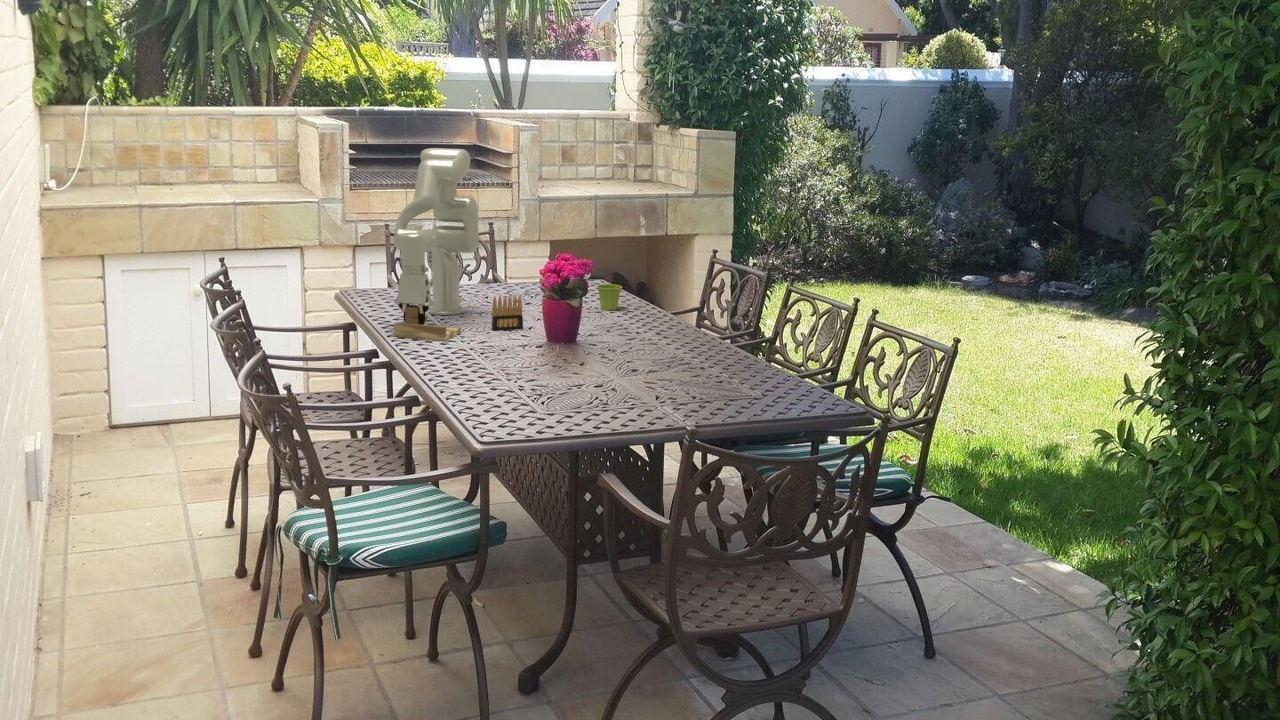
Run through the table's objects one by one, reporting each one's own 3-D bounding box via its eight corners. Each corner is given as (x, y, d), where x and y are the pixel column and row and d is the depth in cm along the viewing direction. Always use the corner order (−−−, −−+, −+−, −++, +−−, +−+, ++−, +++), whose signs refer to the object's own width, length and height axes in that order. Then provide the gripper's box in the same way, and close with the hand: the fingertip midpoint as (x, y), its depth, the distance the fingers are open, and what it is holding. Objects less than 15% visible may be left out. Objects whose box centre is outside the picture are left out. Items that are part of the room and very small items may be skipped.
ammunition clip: (521, 328, 440) (521, 294, 437) (523, 329, 438) (523, 295, 436) (491, 329, 436) (491, 295, 434) (492, 331, 435) (492, 296, 432)
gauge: (420, 321, 436) (420, 301, 435) (432, 322, 435) (432, 302, 433) (405, 327, 425) (404, 307, 424) (417, 328, 424) (417, 308, 423)
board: (411, 329, 434) (411, 316, 433) (460, 333, 429) (460, 320, 428) (394, 336, 422) (394, 323, 421) (444, 341, 417) (444, 327, 416)
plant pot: (626, 308, 479) (626, 286, 477) (612, 312, 471) (612, 289, 469) (605, 305, 484) (606, 283, 482) (591, 309, 476) (592, 286, 474)
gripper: (441, 270, 424) (442, 323, 428) (395, 266, 428) (396, 320, 433) (431, 273, 417) (432, 328, 421) (385, 270, 421) (386, 324, 426)
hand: (414, 323), depth 427 cm, fingers closed on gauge, 4 cm apart
